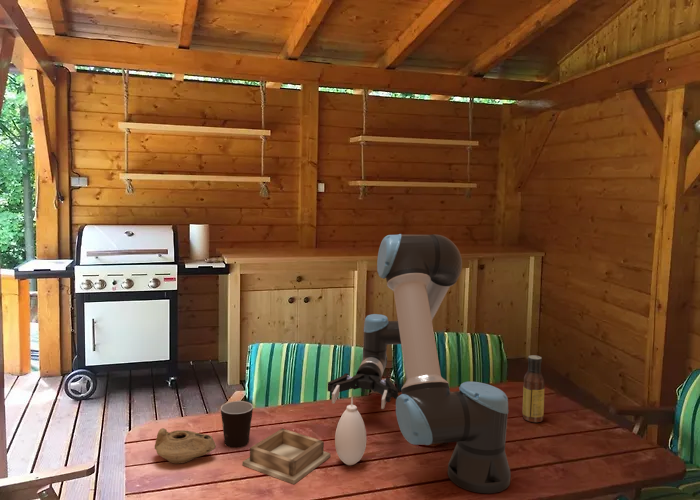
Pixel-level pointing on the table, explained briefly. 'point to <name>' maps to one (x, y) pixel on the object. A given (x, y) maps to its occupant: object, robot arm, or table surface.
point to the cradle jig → (287, 455)
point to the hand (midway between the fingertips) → (357, 401)
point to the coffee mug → (236, 423)
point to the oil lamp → (182, 445)
